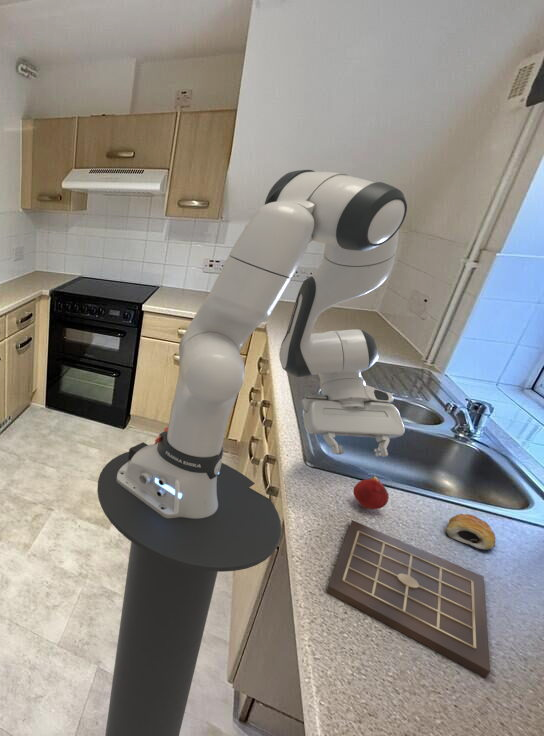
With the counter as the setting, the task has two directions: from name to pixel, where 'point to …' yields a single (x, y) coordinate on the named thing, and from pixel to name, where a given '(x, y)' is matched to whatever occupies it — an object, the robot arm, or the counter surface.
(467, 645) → the grid board
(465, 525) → the pastry
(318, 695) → the counter surface
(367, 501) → the onion
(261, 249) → the robot arm
